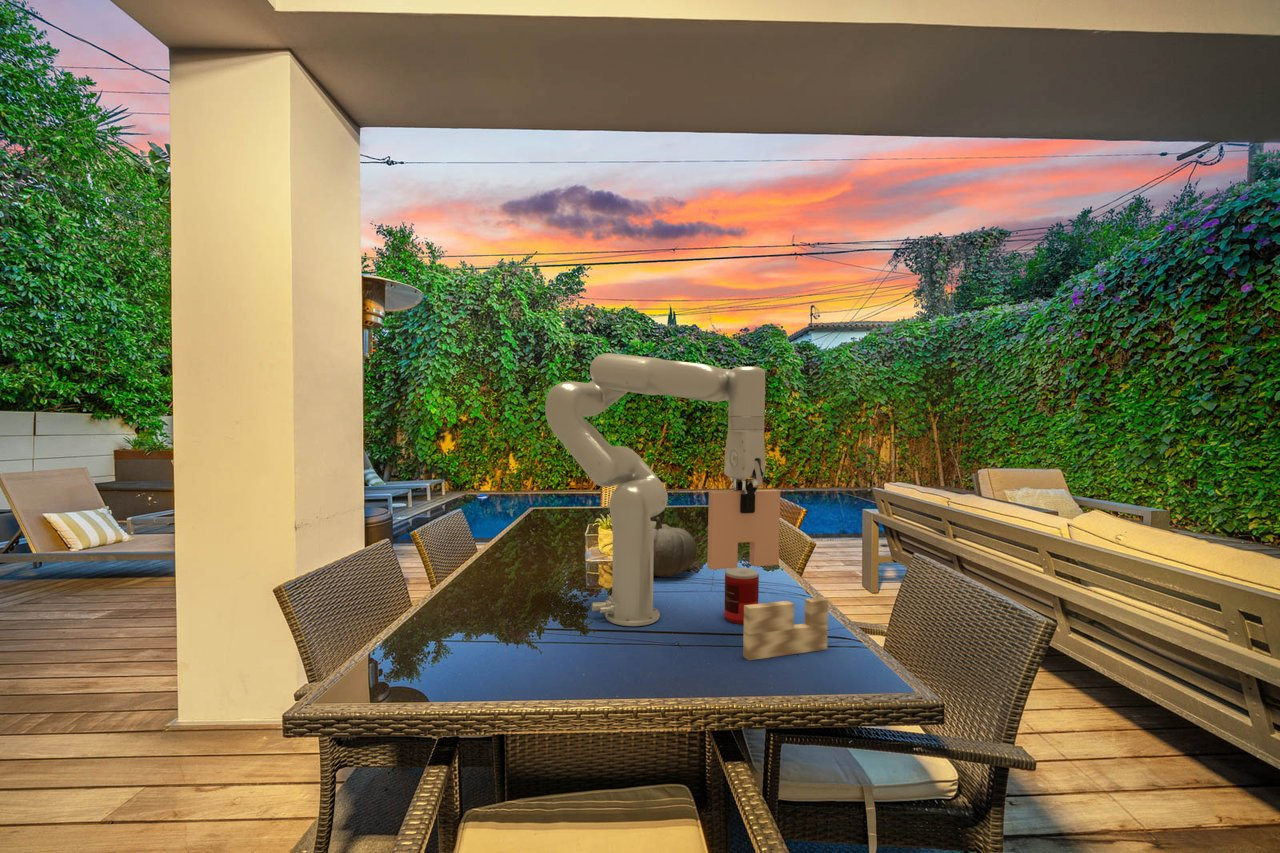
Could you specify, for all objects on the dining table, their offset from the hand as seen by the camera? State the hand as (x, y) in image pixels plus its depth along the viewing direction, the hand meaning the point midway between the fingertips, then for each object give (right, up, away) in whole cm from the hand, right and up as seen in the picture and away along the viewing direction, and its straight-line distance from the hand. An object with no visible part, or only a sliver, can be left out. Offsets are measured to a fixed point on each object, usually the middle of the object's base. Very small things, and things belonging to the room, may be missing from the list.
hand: (744, 511), depth 121 cm
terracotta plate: (0, -12, 0) cm, 12 cm away
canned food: (+1, -27, +11) cm, 29 cm away
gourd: (-18, -26, +51) cm, 60 cm away
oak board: (+7, -27, -8) cm, 29 cm away
